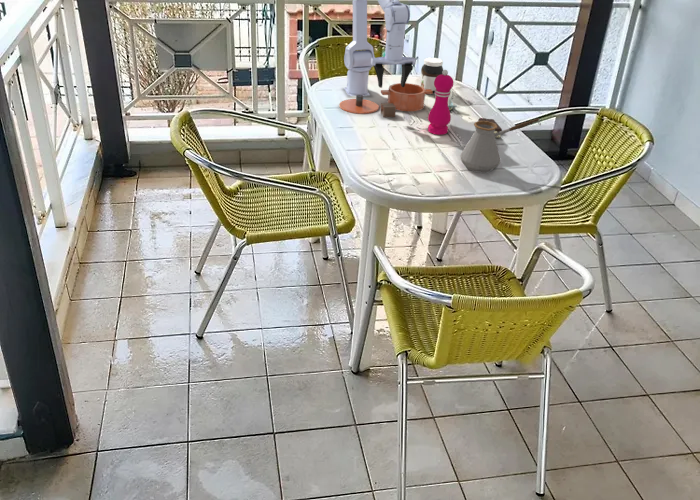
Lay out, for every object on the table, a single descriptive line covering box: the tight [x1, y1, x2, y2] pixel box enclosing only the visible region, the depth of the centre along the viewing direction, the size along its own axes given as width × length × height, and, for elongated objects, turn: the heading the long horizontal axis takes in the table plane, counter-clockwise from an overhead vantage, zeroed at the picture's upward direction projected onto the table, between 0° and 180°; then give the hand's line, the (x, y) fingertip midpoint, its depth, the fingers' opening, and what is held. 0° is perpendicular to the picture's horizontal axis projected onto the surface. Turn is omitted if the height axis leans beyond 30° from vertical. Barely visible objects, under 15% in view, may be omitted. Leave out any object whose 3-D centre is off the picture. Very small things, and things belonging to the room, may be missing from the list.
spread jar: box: [419, 57, 452, 95], centre depth 250 cm, size 12×11×12 cm
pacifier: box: [448, 90, 458, 111], centre depth 236 cm, size 7×6×6 cm
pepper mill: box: [427, 69, 454, 136], centre depth 213 cm, size 7×7×20 cm
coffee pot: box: [459, 118, 542, 174], centre depth 191 cm, size 21×12×15 cm, turn 95°
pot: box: [380, 82, 433, 112], centre depth 235 cm, size 13×18×6 cm
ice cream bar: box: [477, 117, 503, 139], centre depth 220 cm, size 5×2×15 cm
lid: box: [338, 95, 380, 115], centre depth 232 cm, size 14×14×5 cm
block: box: [380, 102, 397, 118], centre depth 226 cm, size 4×4×4 cm
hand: (391, 86), depth 222 cm, fingers open, 7 cm apart
